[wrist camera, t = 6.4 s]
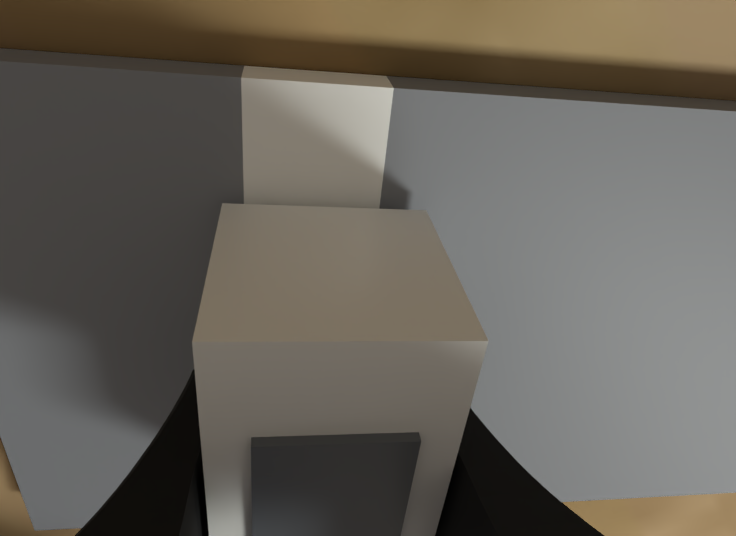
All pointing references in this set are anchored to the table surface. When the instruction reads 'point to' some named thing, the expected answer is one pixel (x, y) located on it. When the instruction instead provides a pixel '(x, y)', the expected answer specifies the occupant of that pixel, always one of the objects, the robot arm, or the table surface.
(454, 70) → the table surface
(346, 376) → the block
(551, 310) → the board
